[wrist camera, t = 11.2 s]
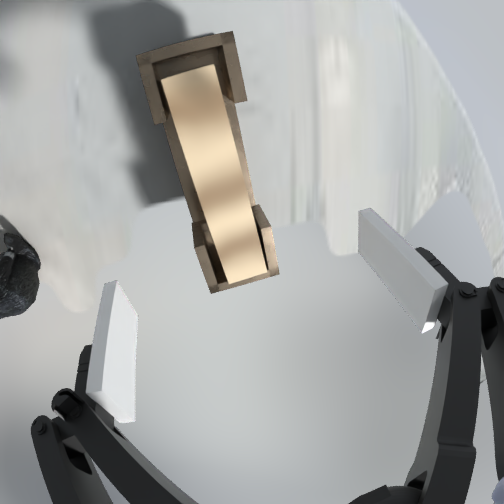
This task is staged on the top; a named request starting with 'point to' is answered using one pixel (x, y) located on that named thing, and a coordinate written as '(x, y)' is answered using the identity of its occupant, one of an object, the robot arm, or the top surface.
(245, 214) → the rail
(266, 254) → the bracket
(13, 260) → the figurine
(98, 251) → the top surface
